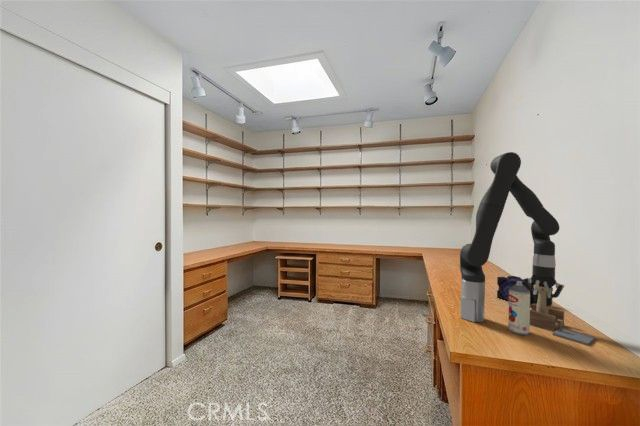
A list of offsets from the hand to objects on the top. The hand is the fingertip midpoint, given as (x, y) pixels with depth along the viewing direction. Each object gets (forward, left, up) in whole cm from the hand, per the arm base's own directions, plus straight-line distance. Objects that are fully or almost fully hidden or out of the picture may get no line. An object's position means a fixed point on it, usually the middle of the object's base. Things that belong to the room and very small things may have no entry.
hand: (542, 304), depth 115 cm
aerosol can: (-18, +2, -9) cm, 20 cm away
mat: (-5, -11, -8) cm, 15 cm away
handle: (0, 0, -7) cm, 7 cm away
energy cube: (+26, +19, -9) cm, 34 cm away
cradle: (0, 0, -8) cm, 8 cm away
